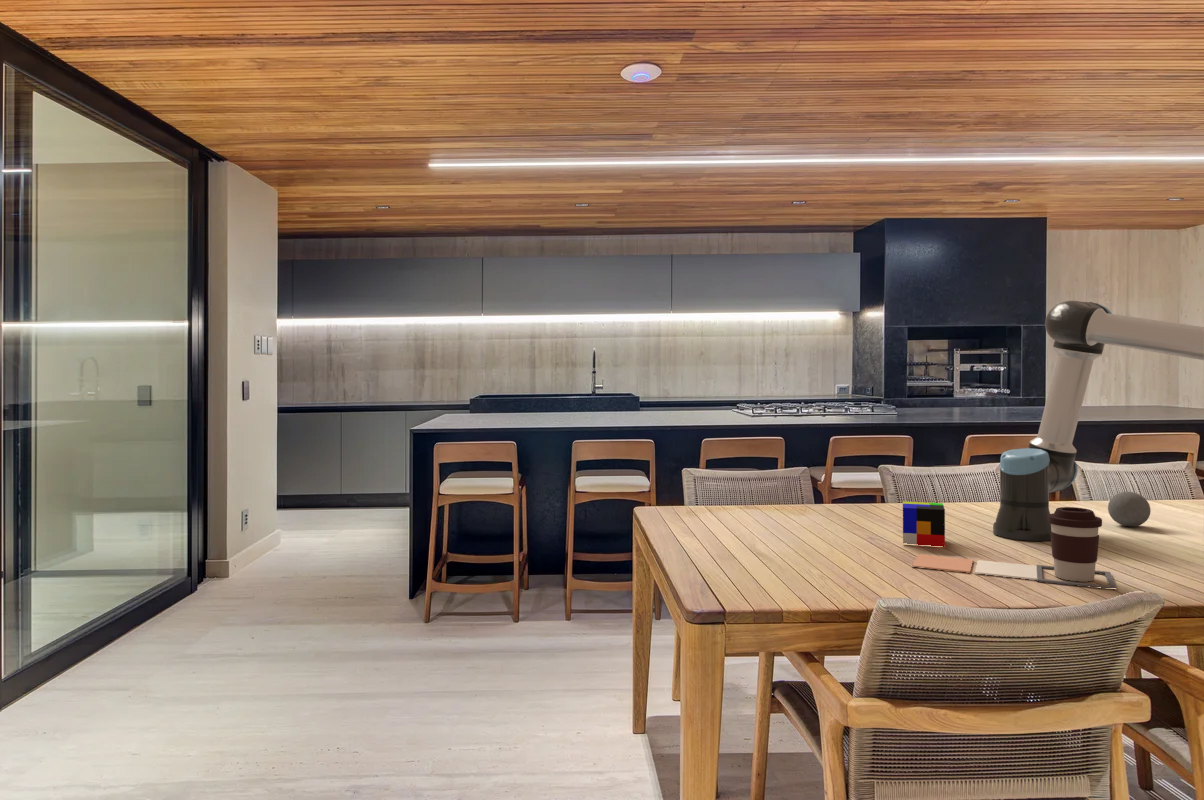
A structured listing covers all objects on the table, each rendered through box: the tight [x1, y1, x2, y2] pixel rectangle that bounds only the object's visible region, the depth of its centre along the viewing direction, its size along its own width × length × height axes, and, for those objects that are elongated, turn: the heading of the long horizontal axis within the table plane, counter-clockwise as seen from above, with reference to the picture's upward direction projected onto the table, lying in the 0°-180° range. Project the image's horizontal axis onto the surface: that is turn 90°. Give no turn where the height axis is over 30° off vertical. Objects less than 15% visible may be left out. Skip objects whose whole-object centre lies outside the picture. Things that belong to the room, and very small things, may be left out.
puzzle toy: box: [902, 501, 946, 548], centre depth 196 cm, size 10×10×10 cm
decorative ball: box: [1107, 491, 1152, 528], centre depth 212 cm, size 10×10×10 cm
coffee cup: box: [1048, 506, 1103, 583], centre depth 160 cm, size 10×10×15 cm
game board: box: [912, 554, 1118, 589], centre depth 167 cm, size 39×14×1 cm, turn 60°
